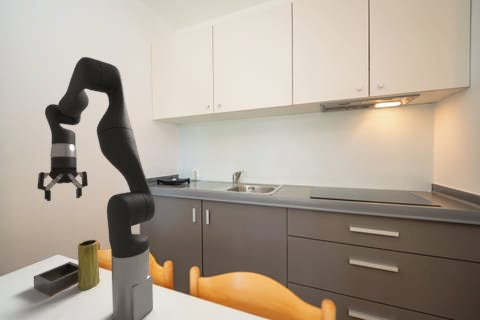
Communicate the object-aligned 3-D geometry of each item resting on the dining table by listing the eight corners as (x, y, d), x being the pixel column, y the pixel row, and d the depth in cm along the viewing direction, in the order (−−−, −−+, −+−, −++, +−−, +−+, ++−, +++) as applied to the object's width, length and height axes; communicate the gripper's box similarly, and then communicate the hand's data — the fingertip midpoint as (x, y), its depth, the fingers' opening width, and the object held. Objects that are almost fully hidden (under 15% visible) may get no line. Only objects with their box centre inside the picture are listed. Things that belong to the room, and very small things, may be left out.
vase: (80, 292, 65) (79, 248, 65) (74, 285, 69) (73, 243, 69) (102, 283, 70) (101, 241, 70) (96, 277, 74) (95, 237, 73)
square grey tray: (86, 278, 73) (86, 267, 73) (50, 296, 63) (49, 284, 63) (70, 272, 77) (69, 261, 77) (33, 288, 68) (33, 276, 68)
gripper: (40, 154, 71) (40, 202, 69) (89, 156, 82) (90, 197, 81) (36, 157, 75) (35, 202, 74) (83, 158, 87) (83, 197, 85)
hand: (64, 199), depth 77 cm, fingers open, 8 cm apart
